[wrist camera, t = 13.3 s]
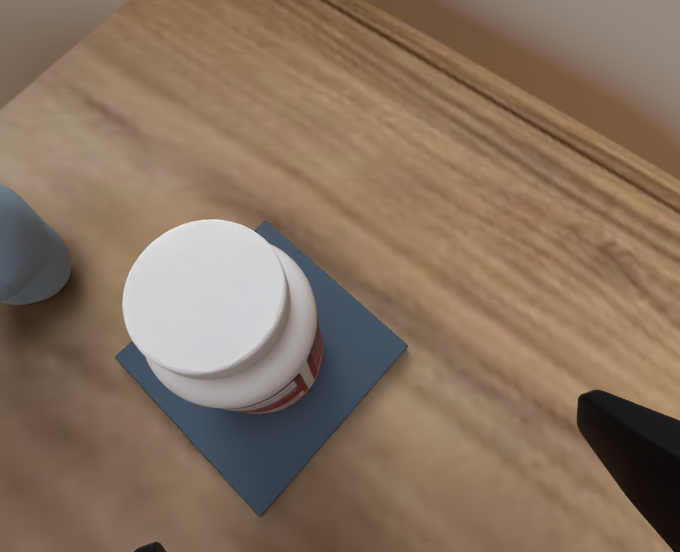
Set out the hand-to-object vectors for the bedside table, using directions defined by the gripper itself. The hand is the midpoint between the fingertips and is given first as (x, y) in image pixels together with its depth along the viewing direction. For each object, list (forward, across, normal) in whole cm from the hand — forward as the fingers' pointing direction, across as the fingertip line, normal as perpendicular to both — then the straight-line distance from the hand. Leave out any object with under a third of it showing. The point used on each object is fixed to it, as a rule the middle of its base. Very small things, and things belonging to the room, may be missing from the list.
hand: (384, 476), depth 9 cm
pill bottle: (+13, +3, +5) cm, 15 cm away
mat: (+14, +3, +5) cm, 15 cm away
